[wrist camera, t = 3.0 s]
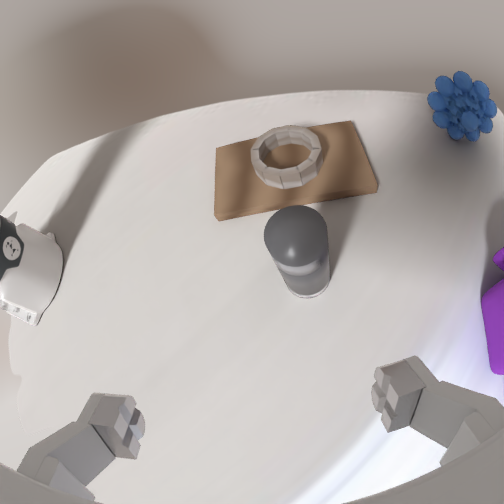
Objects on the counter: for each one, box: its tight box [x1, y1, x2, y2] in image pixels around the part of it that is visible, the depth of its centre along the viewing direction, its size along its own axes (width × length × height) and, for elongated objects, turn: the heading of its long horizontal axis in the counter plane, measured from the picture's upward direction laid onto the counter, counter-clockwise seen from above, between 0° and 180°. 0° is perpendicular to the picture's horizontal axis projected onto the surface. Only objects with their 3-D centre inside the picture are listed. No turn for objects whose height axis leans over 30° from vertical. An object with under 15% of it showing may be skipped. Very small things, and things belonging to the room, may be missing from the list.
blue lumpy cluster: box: [427, 71, 497, 142], centre depth 26 cm, size 12×7×12 cm, turn 78°
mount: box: [214, 121, 378, 221], centre depth 35 cm, size 20×12×4 cm, turn 93°
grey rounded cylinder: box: [264, 205, 330, 298], centre depth 26 cm, size 5×5×10 cm
